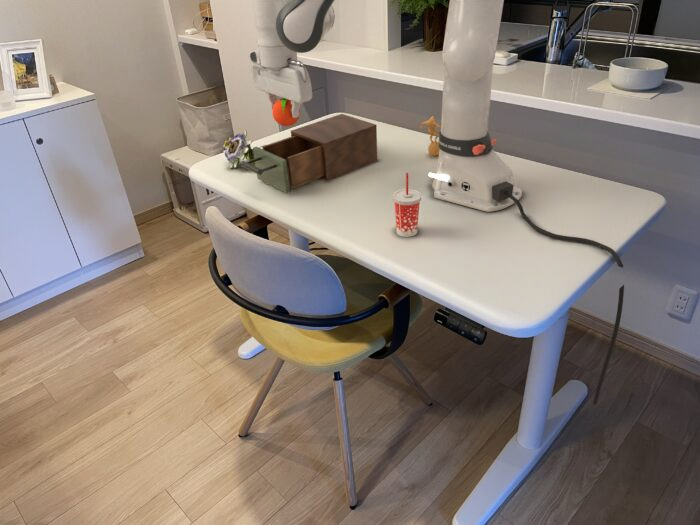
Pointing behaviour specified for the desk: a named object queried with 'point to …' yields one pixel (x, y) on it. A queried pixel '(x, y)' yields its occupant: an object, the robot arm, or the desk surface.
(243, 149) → the passion flower
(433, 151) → the figurine
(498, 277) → the desk surface
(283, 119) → the clementine
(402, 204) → the beverage cup
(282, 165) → the drawer
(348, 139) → the cabinet
